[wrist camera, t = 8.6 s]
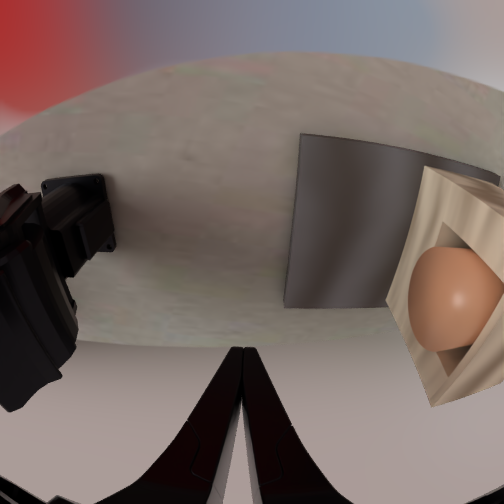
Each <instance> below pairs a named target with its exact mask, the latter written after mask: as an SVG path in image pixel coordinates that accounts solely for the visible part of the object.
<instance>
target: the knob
mask: <svg viewBox="0 0 504 504" xmlns="http://www.w3.org/2000/svg"><path fill="white" fill-rule="evenodd" d="M503 294H504V283H503V282H502V281H501V279H500V278H499V277H498V276H497V275H496V274H495V273H494V271H493V270H492V269H491V268H490V267H489V266H488V265H487V264H486V263H485V262H484V261H483V260H482V259H481V258H480V257H479V255H478V254H477V253H476V252H475V251H474V250H473V249H466V248H451V247H432V248H429V249H428V250H426V251H425V252H424V253H423V254H422V255H421V256H420V257H419V259H418V260H417V262H416V264H415V267H414V269H413V272H412V275H411V279H410V284H409V290H408V313H409V320H410V324H411V328H412V331H413V333H414V336H415V338H416V339H417V341H418V342H419V344H420V345H421V346H422V347H423V348H425V349H426V350H428V351H432V352H438V351H443V350H449V349H454V348H459V347H463V346H468V345H473V344H474V342H475V341H476V339H477V338H478V336H479V335H480V333H481V331H482V330H483V328H484V327H485V325H486V324H487V322H488V320H489V319H490V317H491V315H492V314H493V312H494V310H495V308H496V307H497V305H498V303H499V301H500V299H501V297H502V296H503Z"/></svg>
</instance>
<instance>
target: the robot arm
mask: <svg viewBox="0 0 504 504" xmlns="http://www.w3.org/2000/svg"><path fill="white" fill-rule="evenodd" d="M96 178H97V179H98V180H99V183H98V182H97V181H96ZM46 185H47V187H46ZM41 188H42V193H43V197H42V196H41V192H37V193H27V191H25V190H24V189H23V187H22V186H21V185H20V184H15V185H12V186H11V187H9V188H7V189H6V190H4V191H2V192H1V193H0V405H1V406H2V407H3V408H4V409H5V410H6V411H7V412H13V411H15V410H17V409H20V408H22V407H23V406H24V405H25V404H26V403H27V401H28V400H29V399H30V398H31V397H32V396H33V395H34V394H35V393H36V392H37V391H38V390H39V389H40V388H42V387H43V386H45V385H46V384H48V383H50V382H53V381H56V380H59V379H61V378H62V374H61V372H60V371H59V368H60V367H61V366H62V365H63V364H64V363H65V362H66V361H67V360H68V359H69V358H70V357H71V356H72V354H73V352H74V351H75V349H76V344H75V342H76V338H77V334H78V322H77V318H76V316H75V315H76V310H77V305H76V303H75V300H73V299H72V296H71V294H70V291H69V289H68V286H67V284H66V281H65V280H66V279H67V278H68V277H72V278H73V277H74V276H75V275H76V274H77V273H78V271H79V270H80V269H81V268H82V266H83V265H84V264H85V263H86V261H87V260H91V259H92V258H93V256H94V255H95V254H96V253H97V252H113V251H114V250H115V249H116V241H115V237H114V226H113V221H112V216H111V210H110V205H109V202H108V200H107V194H106V188H105V181H104V177H103V176H102V175H101V174H88V175H79V176H70V177H62V178H54V179H47V180H45V181H43V182H42V184H41ZM109 244H110V245H111V246H112V247H110V246H109ZM241 402H242V410H243V420H244V429H245V438H246V447H247V457H248V466H249V474H250V482H251V490H252V498H253V504H353V503H352V502H351V501H349V500H348V499H346V498H345V497H344V496H342V495H341V494H340V493H339V492H338V491H337V490H336V489H335V488H334V487H333V486H332V485H331V483H330V482H329V481H328V480H327V478H326V477H325V476H324V475H323V473H322V472H321V471H320V469H319V468H318V466H317V465H316V463H315V462H314V461H313V459H312V458H311V457H310V455H309V453H308V452H307V450H306V449H305V447H304V446H303V444H302V442H301V441H300V439H299V437H298V435H297V433H296V431H295V429H294V427H293V426H291V425H292V423H291V421H290V419H289V417H288V415H287V413H286V411H285V409H284V407H283V405H282V403H281V401H280V398H279V397H278V394H277V392H276V390H275V388H274V386H273V384H272V382H271V380H270V377H269V375H268V373H267V371H266V369H265V367H264V365H263V362H262V361H261V358H260V356H259V354H258V352H257V349H256V348H255V347H245V348H244V351H243V347H235V346H233V347H231V348H230V350H229V352H228V353H227V355H226V357H225V359H224V360H223V362H222V364H221V365H220V367H219V369H218V370H217V372H216V373H215V375H214V377H213V378H212V380H211V382H210V383H209V385H208V387H207V388H206V390H205V392H204V393H203V395H202V396H201V398H200V400H199V401H198V403H197V404H196V406H195V408H194V409H193V411H192V413H191V414H190V416H189V417H188V419H187V420H188V421H186V422H185V423H184V425H183V427H182V428H181V430H180V431H179V433H178V434H177V436H176V437H175V439H174V440H173V441H172V442H171V444H170V445H169V446H168V447H167V449H166V450H165V451H164V452H163V453H162V454H161V455H160V457H159V458H158V459H157V460H156V461H155V462H154V463H153V464H152V465H151V467H150V468H149V469H148V470H147V471H146V472H145V473H144V474H143V475H142V476H141V477H140V478H139V479H138V480H137V481H135V482H134V483H133V484H131V485H130V486H128V487H126V488H124V489H122V490H120V491H118V492H116V493H115V494H113V495H111V496H109V497H107V498H105V499H103V500H101V501H99V502H97V503H95V504H222V503H223V498H224V493H225V488H226V483H227V478H228V473H229V468H230V463H231V458H232V452H233V447H234V442H235V436H236V431H237V426H238V420H239V415H240V409H241ZM0 504H79V503H77V502H74V501H72V500H69V499H67V498H64V497H62V496H59V495H56V496H55V497H54V498H52V499H51V500H50V501H49V502H45V501H43V500H42V499H40V498H38V497H36V496H35V495H33V494H31V493H30V492H28V491H27V490H25V489H23V488H22V487H20V486H18V485H16V484H15V483H13V482H12V481H10V480H8V479H6V478H4V477H2V476H1V475H0ZM465 504H504V485H502V486H500V487H498V488H496V489H494V490H492V491H490V492H489V493H486V494H484V495H482V496H480V497H478V498H476V499H473V500H471V501H469V502H467V503H465Z"/></svg>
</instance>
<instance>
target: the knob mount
mask: <svg viewBox="0 0 504 504" xmlns="http://www.w3.org/2000/svg"><path fill="white" fill-rule="evenodd" d="M499 180H500V176H498V175H497V174H495V173H493V172H490V171H487V170H484V169H481V168H478V167H474V166H471V165H468V164H465V163H461V162H458V161H454V160H451V159H447V158H443V157H439V156H435V155H431V154H427V153H423V152H419V151H414V150H410V149H405V148H400V147H395V146H390V145H384V144H379V143H373V142H367V141H361V140H354V139H347V138H339V137H331V136H322V135H312V134H301V133H300V144H299V157H298V169H297V181H296V192H295V202H294V212H293V222H292V232H291V241H290V250H289V259H288V267H287V276H286V284H285V292H284V299H283V301H284V308H375V307H389V309H390V311H391V313H392V315H393V317H394V319H395V321H396V323H397V325H398V327H399V330H400V331H401V334H402V336H403V338H404V340H405V343H406V345H407V347H408V350H409V352H410V354H411V356H412V359H413V361H414V364H415V366H416V369H417V371H418V374H419V376H420V379H421V381H422V384H423V386H424V389H425V392H426V394H427V397H428V400H429V402H430V405H431V407H435V406H438V405H442V404H445V403H448V402H451V401H454V400H457V399H460V398H463V397H466V396H469V395H472V394H475V393H477V392H480V391H482V390H485V389H488V388H490V387H492V386H495V385H497V384H499V383H501V382H502V381H503V380H504V294H503V296H502V297H501V299H500V301H499V303H498V305H497V307H496V308H495V310H494V312H493V314H492V315H491V317H490V319H489V320H488V322H487V324H486V325H485V327H484V328H483V330H482V331H481V333H480V335H479V336H478V338H477V339H476V341H475V342H474V344H473V345H468V346H463V347H459V348H454V349H449V350H443V351H438V352H432V351H428V350H426V349H425V348H423V347H422V346H421V345H420V344H419V342H418V341H417V339H416V338H415V336H414V333H413V331H412V328H411V324H410V320H409V313H408V290H409V284H410V279H411V275H412V272H413V269H414V267H415V264H416V262H417V260H418V259H419V257H420V256H421V255H422V254H423V253H424V252H425V251H426V250H428V249H429V248H432V247H451V248H466V249H473V250H474V251H475V252H476V253H477V254H478V255H479V257H480V258H481V259H482V260H483V261H484V262H485V263H486V264H487V265H488V266H489V267H490V268H491V269H492V270H493V271H494V273H495V274H496V275H497V276H498V277H499V278H500V279H501V281H502V282H503V283H504V190H502V189H501V188H499V187H498V184H499Z"/></svg>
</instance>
